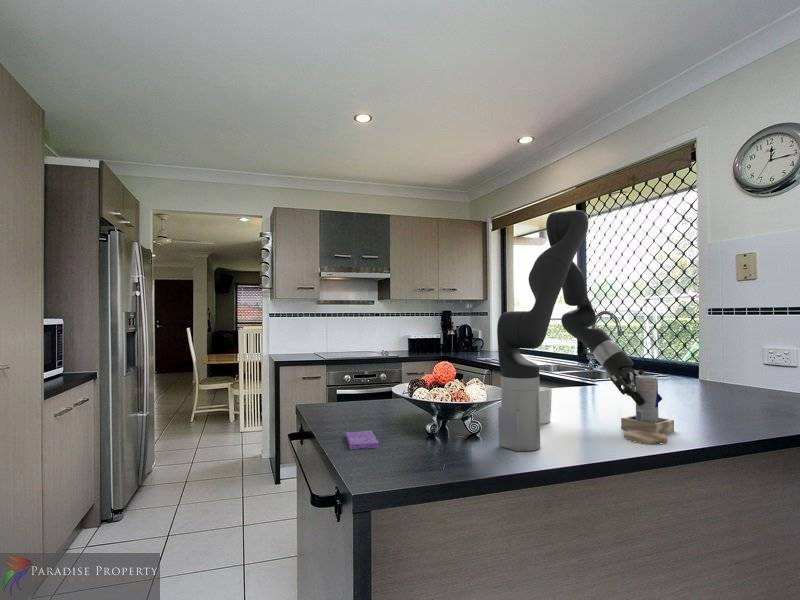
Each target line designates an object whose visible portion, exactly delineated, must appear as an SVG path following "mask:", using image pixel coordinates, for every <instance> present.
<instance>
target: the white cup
mask: <svg viewBox="0 0 800 600" xmlns="http://www.w3.org/2000/svg"><path fill="white" fill-rule="evenodd" d="M552 390H553V389H552V388H550V387H546V386H539V393H540V425H543V424H549V423H551V413H552V398H553V397H552V395H553V391H552Z"/></svg>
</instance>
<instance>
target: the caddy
mask: <svg viewBox="0 0 800 600" xmlns="http://www.w3.org/2000/svg"><path fill="white" fill-rule="evenodd" d="M658 418H659V423H654V424H653V423H648V422H642V421H637V420H636V414H634V415H630V416H624V417H621V421H620V422H621V423H620V424H621V426H620V427H621V428H620V429H621V430H625V431H632V430H640V431H650V432H656V433H660V434H663V435H666V434H667V433H672V432H674V431H675V420H674V419H669V418H665V417H664V418H663V417H660V416H658Z"/></svg>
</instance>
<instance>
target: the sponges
mask: <svg viewBox="0 0 800 600" xmlns="http://www.w3.org/2000/svg"><path fill="white" fill-rule="evenodd" d="M345 438H346V440H347V443H348V445H349V449H350V450H362V449H363V448H364V449H375V448H377V449H378V448H379V441H378V439H377V438H376V436H375V435H374V432H373V430H365V431H364V430H363V431H353V432H352V431H351V432H350V431H347V432H345ZM360 448H362V449H360Z"/></svg>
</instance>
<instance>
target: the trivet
mask: <svg viewBox="0 0 800 600" xmlns="http://www.w3.org/2000/svg"><path fill="white" fill-rule="evenodd" d="M623 438H624V439H625V438H626V439H625V440H627V439H628V440H627V441H629V440H631V441H630V442H633V441H636V442H635V443H637V442H641V443H640V444H644V443H650V444H649V445H661V444H660V443H664V444H666V443H665V442H667V443H668V437H667V435H666V434H660V433H656V432H650V431H640V430H632V431H630V430H625V431H624V432H623Z"/></svg>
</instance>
